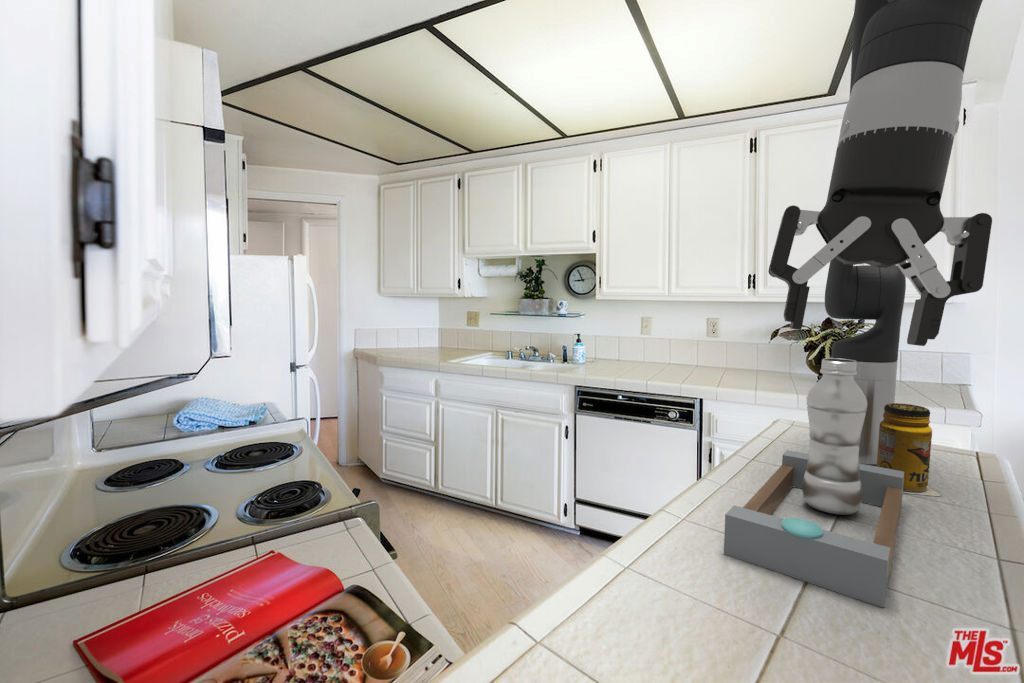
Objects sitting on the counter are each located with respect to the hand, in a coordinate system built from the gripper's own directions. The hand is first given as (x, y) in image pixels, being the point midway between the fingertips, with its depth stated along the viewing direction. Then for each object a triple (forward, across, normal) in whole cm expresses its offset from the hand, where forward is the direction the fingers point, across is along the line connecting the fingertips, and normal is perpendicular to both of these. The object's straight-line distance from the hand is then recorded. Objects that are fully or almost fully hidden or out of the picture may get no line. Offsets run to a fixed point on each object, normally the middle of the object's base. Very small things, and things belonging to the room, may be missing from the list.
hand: (852, 336), depth 40 cm
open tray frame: (+23, -5, -20) cm, 31 cm away
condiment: (+20, -16, -40) cm, 48 cm away
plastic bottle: (+23, -6, -26) cm, 35 cm away
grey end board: (+24, -1, -8) cm, 26 cm away
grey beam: (+22, -8, -33) cm, 40 cm away
